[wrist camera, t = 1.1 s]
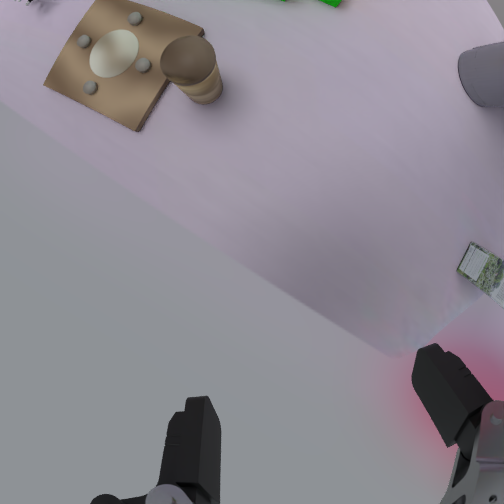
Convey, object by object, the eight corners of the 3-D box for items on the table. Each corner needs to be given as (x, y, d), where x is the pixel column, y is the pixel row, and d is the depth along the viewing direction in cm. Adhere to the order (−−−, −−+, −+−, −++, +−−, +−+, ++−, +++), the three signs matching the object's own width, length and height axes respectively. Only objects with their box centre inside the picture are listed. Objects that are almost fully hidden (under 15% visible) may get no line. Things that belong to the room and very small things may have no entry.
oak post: (199, 65, 27) (180, 27, 16) (230, 81, 28) (226, 49, 17) (179, 94, 29) (149, 70, 17) (210, 111, 30) (194, 93, 18)
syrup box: (471, 280, 40) (524, 323, 26) (454, 270, 39) (511, 315, 25) (486, 252, 38) (542, 288, 24) (470, 239, 37) (531, 277, 23)
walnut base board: (105, -3, 22) (98, -10, 20) (204, 32, 26) (202, 25, 23) (49, 86, 26) (38, 84, 24) (139, 131, 30) (131, 131, 27)
